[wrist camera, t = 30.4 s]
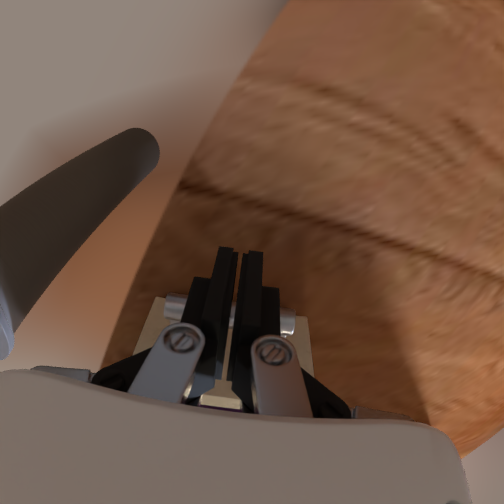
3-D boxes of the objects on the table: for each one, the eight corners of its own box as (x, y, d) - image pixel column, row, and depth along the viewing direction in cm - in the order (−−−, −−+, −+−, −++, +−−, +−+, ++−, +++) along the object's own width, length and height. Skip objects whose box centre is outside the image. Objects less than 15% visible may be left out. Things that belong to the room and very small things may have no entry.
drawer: (153, 244, 21) (109, 325, 14) (323, 266, 21) (343, 356, 15) (165, 390, 30) (149, 456, 23) (275, 405, 30) (275, 472, 24)
